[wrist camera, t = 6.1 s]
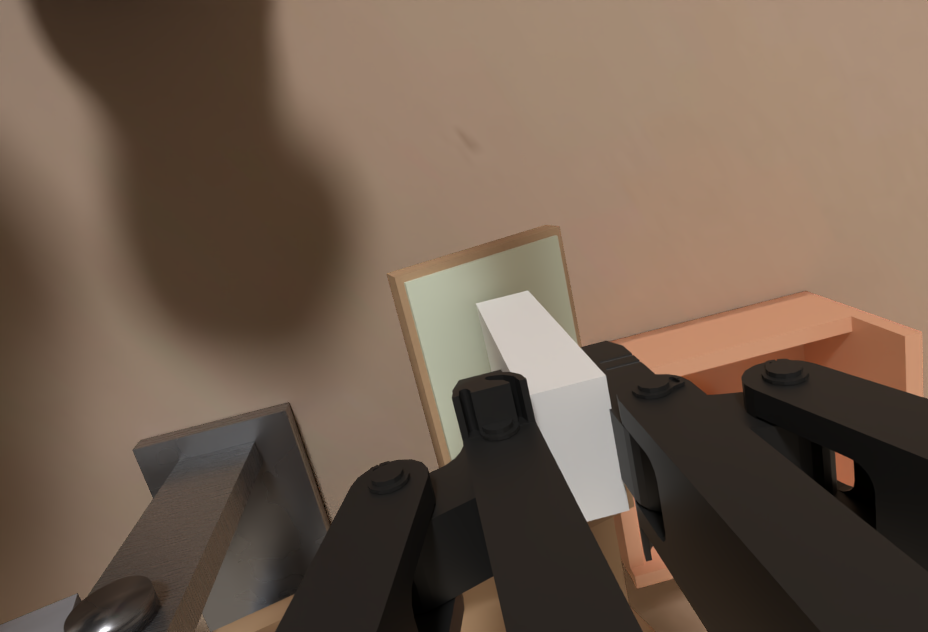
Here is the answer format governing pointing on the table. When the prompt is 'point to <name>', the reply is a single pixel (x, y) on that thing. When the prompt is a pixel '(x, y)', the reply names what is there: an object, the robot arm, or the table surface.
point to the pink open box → (756, 341)
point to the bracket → (212, 529)
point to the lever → (445, 384)
